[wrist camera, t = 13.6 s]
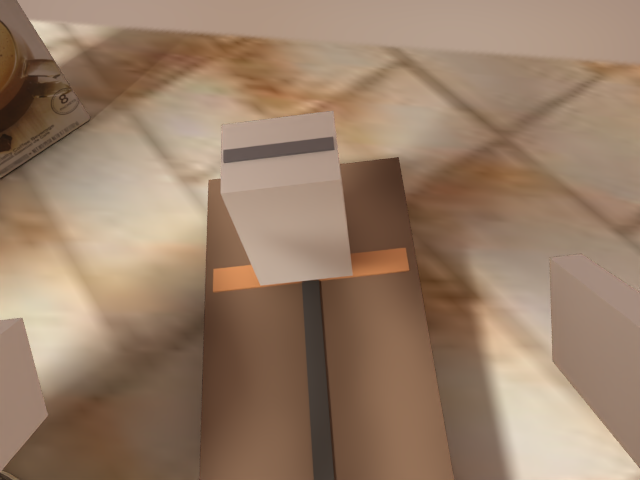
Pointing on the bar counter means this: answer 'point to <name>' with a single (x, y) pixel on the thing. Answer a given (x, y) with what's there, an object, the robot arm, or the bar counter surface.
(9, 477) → the coffee can
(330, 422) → the brown slab
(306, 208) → the fader
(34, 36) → the cookie box
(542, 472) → the bar counter surface
